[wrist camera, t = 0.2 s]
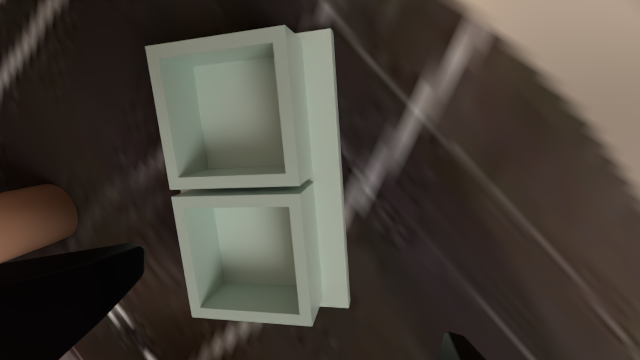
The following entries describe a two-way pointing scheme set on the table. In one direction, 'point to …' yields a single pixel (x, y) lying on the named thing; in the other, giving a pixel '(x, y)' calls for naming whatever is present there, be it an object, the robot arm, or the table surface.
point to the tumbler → (34, 219)
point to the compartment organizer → (255, 172)
